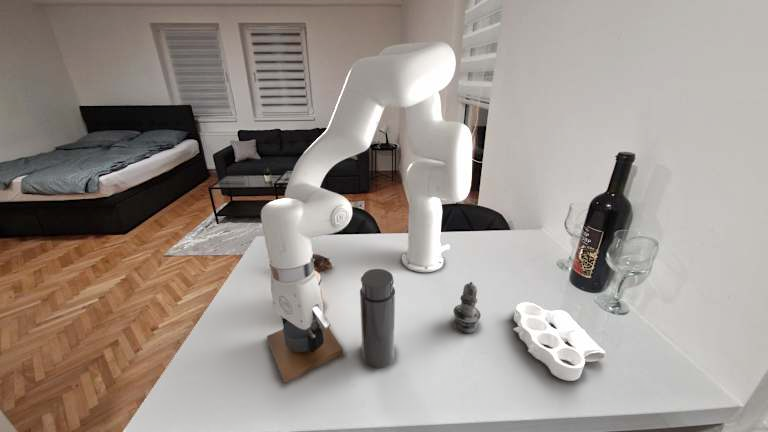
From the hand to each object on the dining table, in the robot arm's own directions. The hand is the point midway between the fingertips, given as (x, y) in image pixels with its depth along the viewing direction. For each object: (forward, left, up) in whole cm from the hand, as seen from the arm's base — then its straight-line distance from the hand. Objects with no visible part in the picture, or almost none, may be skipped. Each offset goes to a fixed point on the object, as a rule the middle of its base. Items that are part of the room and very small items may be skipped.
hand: (303, 337), depth 63 cm
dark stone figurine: (-33, +14, -3) cm, 36 cm away
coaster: (0, 0, -3) cm, 3 cm away
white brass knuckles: (-44, +28, -3) cm, 52 cm away
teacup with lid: (-5, -12, -3) cm, 13 cm away
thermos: (-12, +10, -3) cm, 16 cm away
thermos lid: (0, 0, 0) cm, 0 cm away
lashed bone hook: (-10, -29, -3) cm, 31 cm away
